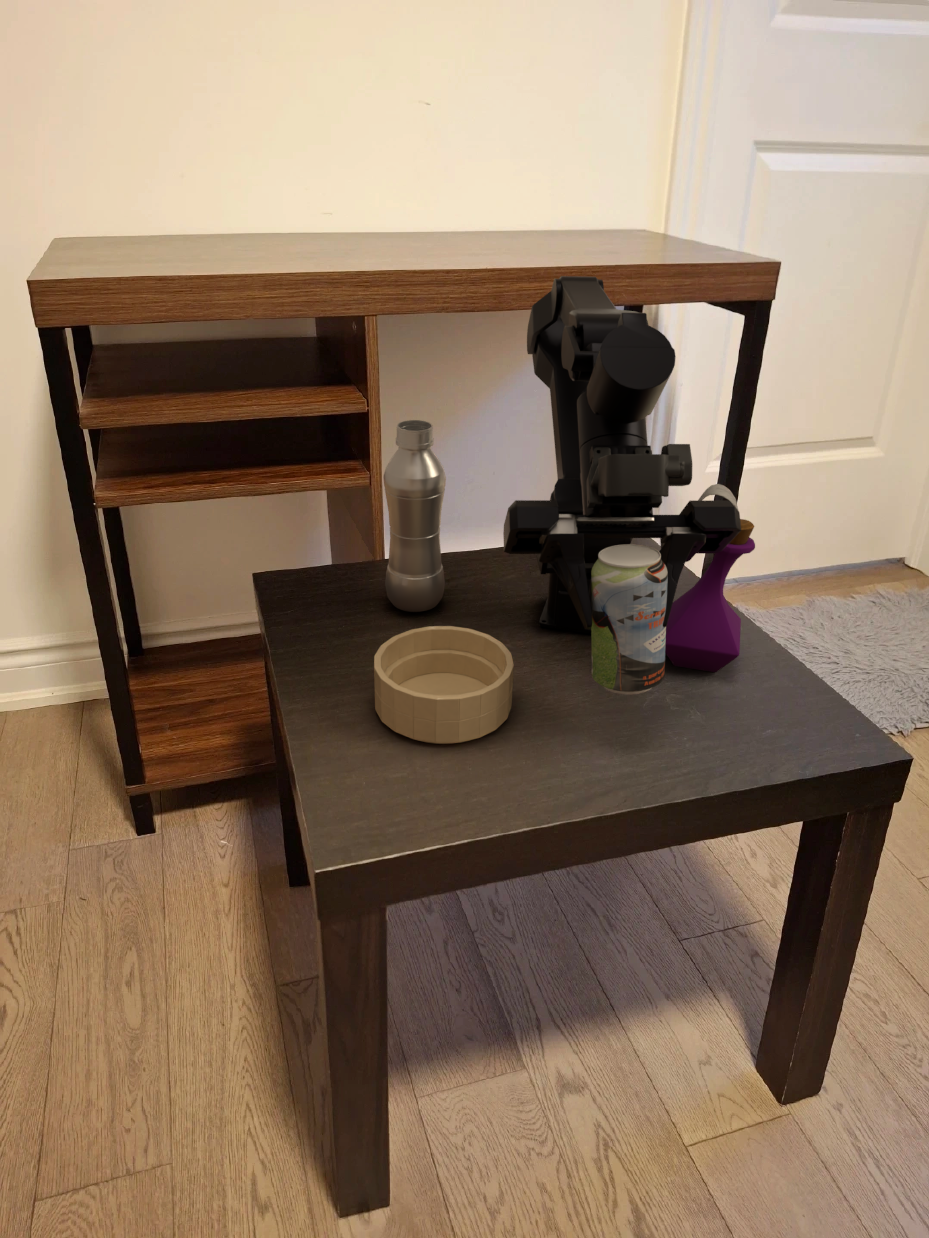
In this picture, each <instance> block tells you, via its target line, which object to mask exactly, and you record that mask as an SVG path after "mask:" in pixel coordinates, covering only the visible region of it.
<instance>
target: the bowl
mask: <svg viewBox="0 0 929 1238" xmlns="http://www.w3.org/2000/svg"><path fill="white" fill-rule="evenodd" d="M373 661H374V662H373V674H374V675H373V676H374V677H373V679H374V680H373V681H374V707H375V708H374V709H375V712H376V713H377V715H378V717H379V719H380V721H381V722H382V723H383V724H384V725H386V726H387V728H390V729H391V730H392V731H393V732H394V733H397V734H399V735H401V736H404V737H407V738H408V739H411V740H415V741H418V742H422V743H423V742H424V743H428V744H437V745H438V744H439V745H441V744H442V745H449V744H452V745H453V744H459V743H466V742H469V741H473V740H476V739H479V738H482V737H484V736H486V735H488V734H491V733H493V732H494V731H496V730H497V729H498V728H499V727H500V726H501V725H502V724H503V723H504V722H505V721H506V720H507V719H508V717H509V715H510V712H511V709H512V705H513V704H512V703H513V686H514V669H515V664H514V659H513V655H512V652H511V651H510V650H509V649H508V647H507V646H505V644H504V643H503V642H501V641H500V640H498V639H496V638H495V637H493V636H492V635H490V634H488V633H485V632H481V631H479V630H475V629H473V628H467V627H460V626H453V625H434V626H433V625H431V626H423V627H419V628H418V627H417V628H412V629H409V630H406V631H404V632H401V633H399V634H396V635H393V636H392V637H390V638H389V639H388V640H386V641H385V642H384V643H382V644H381V645H380V646H379V648H378V649H377V651H376V652H375V654H374V656H373Z"/></svg>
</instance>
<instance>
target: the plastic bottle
mask: <svg viewBox="0 0 929 1238" xmlns="http://www.w3.org/2000/svg"><path fill="white" fill-rule="evenodd" d="M395 445H396V446H397V447H398V448H397V450H396V451H395V453H394V454H393V455H392V457H391V458H390V459H389V461H388V463H387V464H386V467H385V470H384V473H383V486H384V493H385V498H386V504H387V510H388V525H389V549H388V550H389V551H388V552H389V553H388V563H387V567H386V571H385V580H384V587H385V592H386V596H387V599H388V601H390V603H391V604H392V605H393V607H395V608H396V609H398V610H400V611H403V612H409V613H420V612H421V613H422V612H427V611H429V610H432V609H433V608H436V606H437V605H438V604H440V602H441V601H442V599H443V597H444V592H445V588H446V580H445V579H446V578H445V571H444V566H443V564H442V563H443V562H442V549H441V524H442V523H441V522H442V510H443V502H444V497H445V491H446V484H447V474H446V471H445V468H444V465H443V464H442V462H441V460H440V459H439V458H438V456H437V455H436V454H435V452H434V450H432V449H433V448H432V447H433V446H434V445H435V438H434V426H433V424H432V423H431V422H429V421H426V420H423V419H422V420H421V419H409V420H402V421H400V422H398V423H397V424H396V437H395Z"/></svg>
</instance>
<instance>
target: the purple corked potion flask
mask: <svg viewBox="0 0 929 1238" xmlns="http://www.w3.org/2000/svg"><path fill="white" fill-rule="evenodd" d="M709 496H719V497H721V498H724V499H726V500H727V501H731V502H732V504H733V505H734V506H735V507H736V508H737V510H738V511H739V508H738V502H737V499H736V497H735V495H734V494H733V492H732V491H731V490H730V489H729V488H728V487H726V486H725V485H723V484H721V483H716V484H712V485H710V486H708V487H707V488H706V489H705V490H704V491H703V492H702V494H701V495H700V497H699V498H698V499H697V501H704V499H705V498H707V497H709ZM740 523H741V531H740V532H739V534H738V535H737V536H736V537H735V538H734V539H733V540H732V541H731V542H730V543H729V544H728V545H727V546H726V547H725V548H724V549H723V550H722V551H721V552H717V553H714V556H713V558H712V561H711V562H710V564H709V565H708V567H707V569H706V570H705V571H704V572H703V574H702V575H701V577H700V578H699V580H697V582H696V583H695V584H694V586H692V587H691V588H690V589H689V590H687V591H685V593H683V594H682V595H681V596H679V597H678V598H676V600H675V599H674V600H673V603H672V607H671V611H670V615H669V619H668V623H667V626H666V642H665V655H666V656H667V658H668V659H669V661H670V662H671V664H672V665H673V666H675V667H680V668H685V669H690V670H691V669H692V670H698V671H703V672H704V671H705V672H710V673H718V672H719V671H720V670H721V669H723V668H724V667H726V666H727V665H728V664H729V663H731V662H733V661H734V660H735V659H737V658H738V657H739V656H740V649H741V625H742V619H741V617H740V616H739V615H738V614H737V612H736V611H734V609H733V608H732V606H730V605H729V603H728V601H727V599H726V597H725V595H724V587H725V583H726V580H727V577H728V575H729V573H730V570H731V568H732V567H733V566H734V565H735V563H736V562H737V560H738V559H739V558H740V557H742V556H743V555H747V554H750V553H752V552H753V551H755V549H756V542H755V541H754V538H751V537H750V536H751V534H752V532H753V530H754V529H755V525H754V523H753V522H752V521H750V520H748V519H744V518H740Z"/></svg>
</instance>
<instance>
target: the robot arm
mask: <svg viewBox="0 0 929 1238" xmlns="http://www.w3.org/2000/svg"><path fill="white" fill-rule="evenodd" d="M647 316H648V315H647V313H646V312H638V311H636V310H633V311H632V310H625V309H618V308H617V307H616V306H615V305H614V303H613V302H612V300H611V299H610V297H609V296H608V294H607V293H606V292H605V287H604V281H603V279H599V278H597V276H581V275H580V276H578V275H577V276H576V275H575V276H573V275H569V276H568V275H561V276H560V277H559V278H554V279H553V282H552V286H551V290H550V291H549V292H547V293H546V294H545V295H544V296H543V297H541V298H540V299H538V301H536V302H535V303H533V304H532V306H531V309H530V314H529V319H528V323H527V330H526V352H527V355H532V365H533V372H534V375H535V376H536V377H537V378H538V379H539V380H540V381H541V382H542V383H543V384H544V385H545V386H546V387H547V388H548V389H549V393H550V394H549V395H550V404H551V405H550V406H551V419H552V429H553V440H554V442H553V443H554V452H555V463H556V474H557V475H556V476H557V480H556V483H555V484H554V488H553V491H552V492H551V493H550V498H549V500H545V499H544V500H541V499H538V500H536V499H535V500H533V499H532V500H531V499H530V500H529V499H527V500H525V499H521V500H519V499H516V500H514V501H513V502H512V503H511V504H510V505H509V506H508V508H507V511H506V515H505V519H504V523H503V534H502V535H503V553H505V554H509V555H535V558H536V561H537V565H538V568H539V573H540V575H547V574H549V577H548V578H549V579H548V593H547V598H546V601H545V604H544V605H543V606H544V607H543V610H542V612H541V615H540V618H539V620H538V626H539V627H541V628H547V629H548V628H549V629H555V630H562V631H569V632H576V633H583V634H591V627H592V606H591V570H592V567H593V565H594V564H595V562H596V561H597V560H598V554H599V552H600V551H601V550H603V549H605V548H607V547H611V546H615V545H624V544H632V541H633V539H659V542H660V550H658V551H659V552H660V554H661V560H662V561H663V563H664V564H665V566H666V568H667V572H668V580H667V602H666V611H665V617H664V621H663V627H664V628H665V627H666V626H667V623H668V619H669V615H670V611H671V607H672V603H673V602H674V601H675V596H676V592H677V588H678V584H679V580H680V578H681V574H682V572H683V570H684V567H685V564H686V563H687V562H690V561H691V560H692V558H694V556H696V555H697V554H715V553H717V552H721V551H722V550H723V549H724V548H725V547H726V546H727V545H728V544H729V543H730V542H731V541H732V540H733V539H734V538H735V537H736V536H737V535H738V534H739V532H740V531H741V523H740V519H741V515H740V511H739V509H738V510H737V508H736V507H735V506H734V505H733V504H732V502H731V501H729V500H702V501H698V500H689V501H688V502H687V503H686V505H685V506H684V507H683V509H682V510H681V511H680V512H679V514H654V509H658V508H660V506H662V504H663V498H667V497H668V498H669V490H670V489H669V487H686V486H689V485H690V484H691V483H692V480H693V455H692V449H691V444H690V443H669V444H666V445H663V446H661V451H660V454H658V453H656V454H655V453H653V450H652V446H651V445H648V443H649V442H648V433H647V418H646V417H648V416H650V415H651V414H652V412H653V411H654V409H655V407H656V405H657V403H658V401H659V399H660V397H661V395H662V393H663V391H664V389H665V387H666V385H667V383H668V381H669V379H670V378H671V375H672V373H673V371H674V369H675V366H676V358H677V357H676V351H675V348H673V346H672V343H671V342H670V341H669V339H668V338H667V337H666V336H665V335H664V334H663V333H662V332H661V331H660V330H659V329H657V328H655V327H653V326H650V325H649V320H648V317H647Z"/></svg>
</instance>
